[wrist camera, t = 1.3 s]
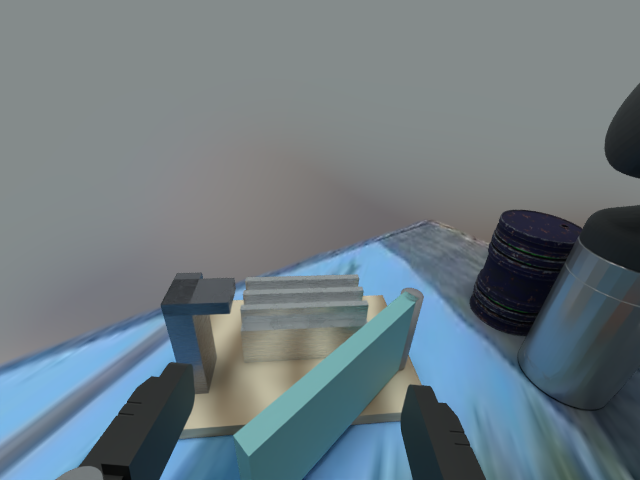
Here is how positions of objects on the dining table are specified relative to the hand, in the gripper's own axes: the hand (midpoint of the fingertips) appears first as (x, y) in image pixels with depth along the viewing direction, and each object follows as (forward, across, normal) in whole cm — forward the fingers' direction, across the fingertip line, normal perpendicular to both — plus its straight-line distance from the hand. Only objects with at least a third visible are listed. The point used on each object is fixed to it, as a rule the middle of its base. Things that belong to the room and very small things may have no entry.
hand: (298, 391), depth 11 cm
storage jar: (+32, -30, +15) cm, 46 cm away
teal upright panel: (+13, -4, +17) cm, 22 cm away
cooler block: (+22, +3, +16) cm, 27 cm away
